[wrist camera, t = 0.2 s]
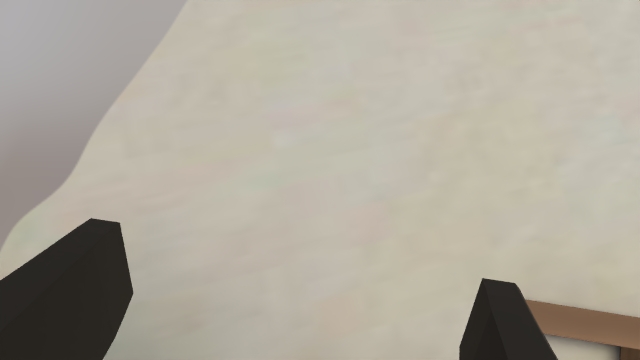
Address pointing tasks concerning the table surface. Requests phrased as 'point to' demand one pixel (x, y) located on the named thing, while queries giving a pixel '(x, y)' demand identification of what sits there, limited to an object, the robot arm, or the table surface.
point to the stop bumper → (589, 326)
